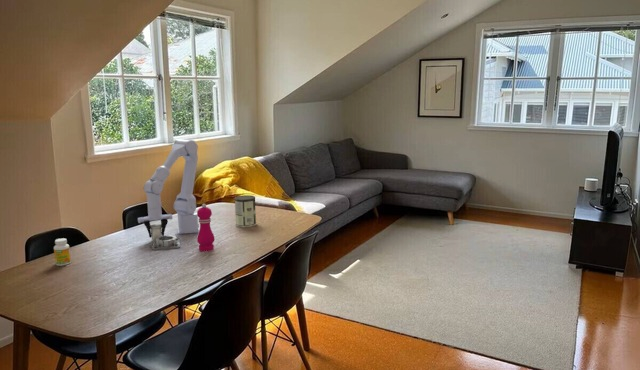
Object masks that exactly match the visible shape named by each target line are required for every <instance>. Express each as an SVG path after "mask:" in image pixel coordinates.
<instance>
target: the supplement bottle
mask: <svg viewBox="0 0 640 370" xmlns="http://www.w3.org/2000/svg"><path fill="white" fill-rule="evenodd" d="M54 244H55V245H54V246H53V255H54V260H55V261H54V262H55V265H56V266H67V265H70V264H71V263H72V260H71V251H70V250H71V249H70V245H69V244H68V240H67V238H64V237H63V238H56V239H55V240H54Z"/></svg>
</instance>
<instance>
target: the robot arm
mask: <svg viewBox="0 0 640 370" xmlns="http://www.w3.org/2000/svg"><path fill="white" fill-rule="evenodd" d="M198 148H199V146H198V144H197V143H196V142H195V140H192V139H180V138H177V139H175V141H174V142H173V144H172V145H171V150H170V152H169V153H168V156H167V157H166V159H165V160H164V162H163V164H162V165H160V166H158V167H156V169H155V171H154V173H153V174H152V175H151V177H149V178H150V179H149V180H147V181H145V183H144V185H143V187H142V188H143V191H144V192H145V196H146V203H147V214H148V215H147V216H141V217H137V223H138V224H141V223H143V225H144V226H145V228H146V230H147V232H148V237H149V238H150V239H152V236H151V229H150V225H151V222H157V221H160V224H161V225H162V228H161V232H162V236H165V231H166V227H167V225H168V223H169V222H168V220H173V214H172V213H169V214H162V213H163V210H162V198H161V193H162V191H163V190H164V185H165V182H166V180H167V179H168V177H169V176H170V174H171V171H170V169H171V168H172V166H173V165H175V163H176V162H177V160H178V159H179V158H180V157H182V158H183V159H184V160H185V161H184V162H185V163H184V167H183V174H182V179H181V187H180V192H179V193H178V194H177V195H176V196H175V197H176V199H175V200H174V203H173V209H174V211H175V212H176V214H177V222H178V223H177V227H178V228H177V235H182V234H193V233H199V229H200V223H199V217H198V216H197V212H195V211H196V209H197V203H196V201H197V199H196V196H194V194H193V192H194V185H195V181H196V180H195V179H196V173H197V165H198V157H199V156H198Z"/></svg>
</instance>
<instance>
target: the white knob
mask: <svg viewBox="0 0 640 370" xmlns="http://www.w3.org/2000/svg"><path fill="white" fill-rule="evenodd" d="M150 229H151V242H153V243H154V241H156V238H158V237H160V236H162V225H161V223H153V224H150Z"/></svg>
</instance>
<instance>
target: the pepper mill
mask: <svg viewBox="0 0 640 370" xmlns="http://www.w3.org/2000/svg"><path fill="white" fill-rule="evenodd" d="M196 213H197V216H198V224H199V230H198V234H197V237H196V242H197V243H198V250H199V252H211V251H213V250H214V249H215V245H214V242H215V240H216V239H215V235H214V233H213V231H212V228H211V221H212V219H211V216H212V215H213V212H212V209H211V208H210V207H207V204H206V203H202V204H201V207H200V208H199V209H198V210H197V212H196Z"/></svg>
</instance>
